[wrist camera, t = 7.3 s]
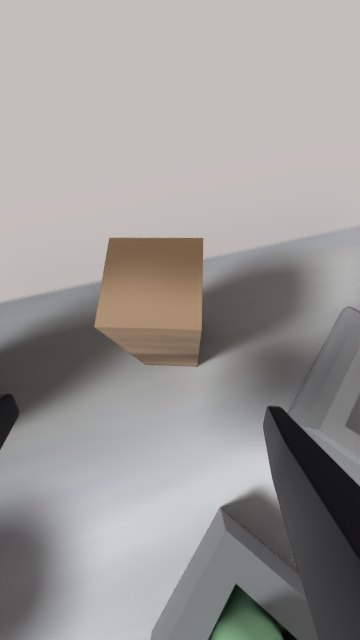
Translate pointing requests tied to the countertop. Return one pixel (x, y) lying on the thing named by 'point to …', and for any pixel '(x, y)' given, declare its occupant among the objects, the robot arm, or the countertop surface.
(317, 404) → the grey square socket
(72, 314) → the countertop surface
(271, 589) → the switch box
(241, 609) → the button
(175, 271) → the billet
